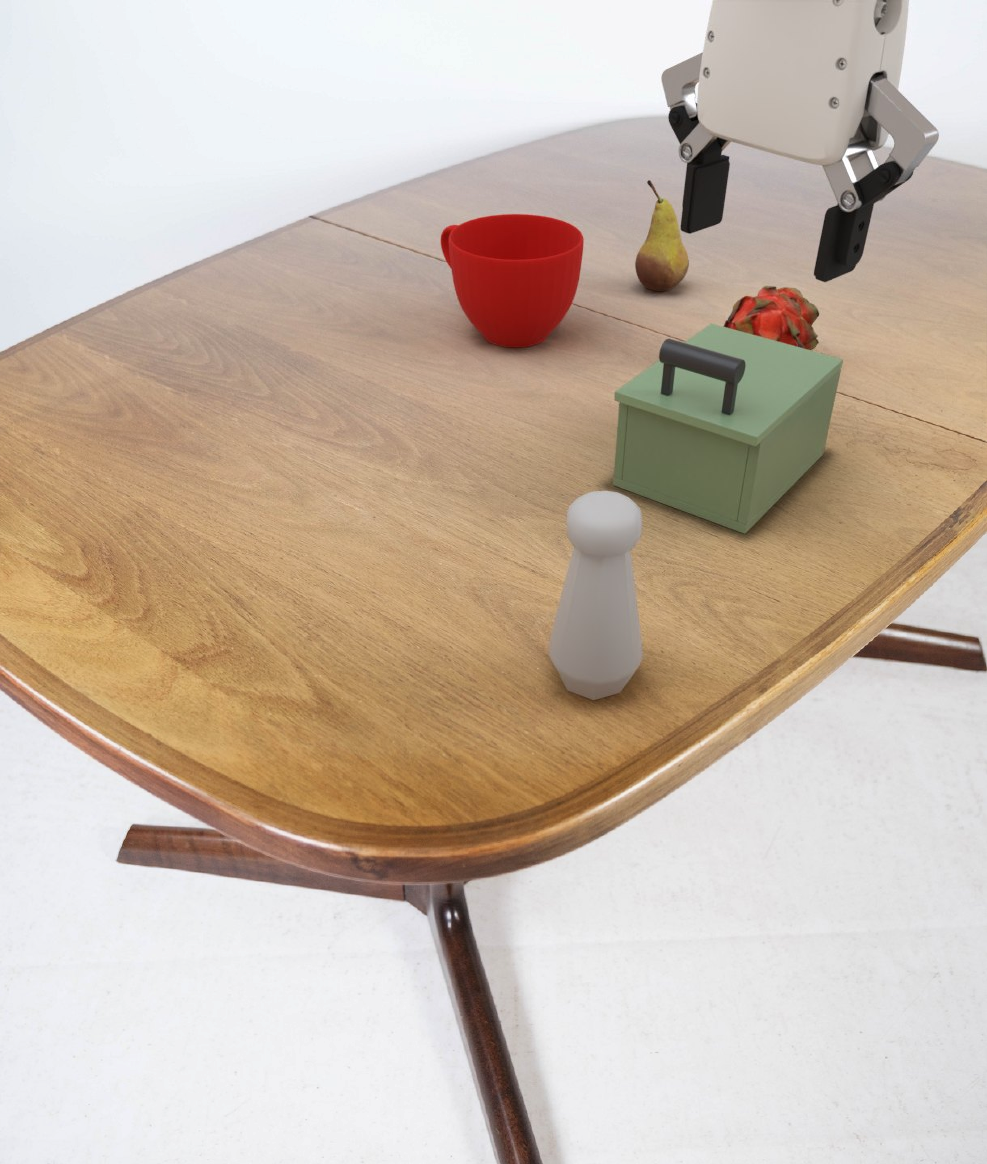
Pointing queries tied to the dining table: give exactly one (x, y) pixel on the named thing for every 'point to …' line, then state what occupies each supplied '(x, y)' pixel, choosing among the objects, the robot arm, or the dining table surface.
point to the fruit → (662, 250)
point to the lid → (729, 382)
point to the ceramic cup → (514, 274)
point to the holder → (719, 461)
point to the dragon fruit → (776, 317)
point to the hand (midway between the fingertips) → (764, 250)
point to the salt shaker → (599, 598)
